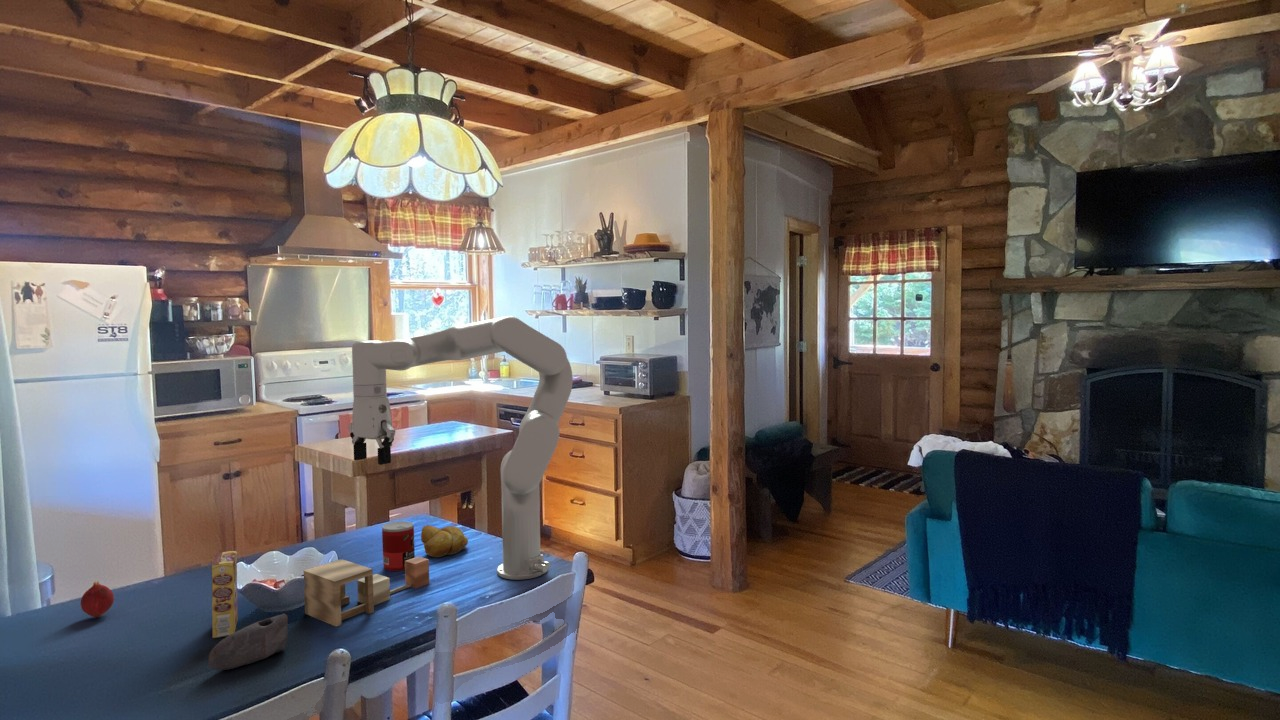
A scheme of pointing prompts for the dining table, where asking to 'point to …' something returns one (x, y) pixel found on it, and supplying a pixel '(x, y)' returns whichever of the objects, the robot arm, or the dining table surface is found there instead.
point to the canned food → (397, 545)
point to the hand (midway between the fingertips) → (372, 461)
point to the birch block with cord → (381, 587)
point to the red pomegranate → (97, 600)
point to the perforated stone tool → (250, 644)
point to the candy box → (224, 594)
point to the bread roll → (442, 540)
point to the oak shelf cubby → (335, 590)
